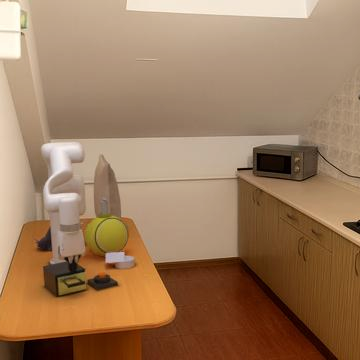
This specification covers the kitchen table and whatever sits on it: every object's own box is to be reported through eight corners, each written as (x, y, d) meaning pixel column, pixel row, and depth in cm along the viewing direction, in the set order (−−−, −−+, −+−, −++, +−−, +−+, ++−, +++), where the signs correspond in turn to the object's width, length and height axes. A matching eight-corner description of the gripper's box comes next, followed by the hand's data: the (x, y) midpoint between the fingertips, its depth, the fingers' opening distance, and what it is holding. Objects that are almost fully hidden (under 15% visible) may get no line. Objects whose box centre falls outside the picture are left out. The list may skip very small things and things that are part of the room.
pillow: (125, 240, 302) (121, 162, 295) (99, 243, 298) (94, 164, 291) (116, 222, 343) (112, 153, 336) (93, 224, 339) (89, 154, 331)
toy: (77, 253, 280) (73, 195, 275) (116, 246, 293) (114, 190, 288) (95, 265, 262) (91, 203, 256) (136, 256, 274) (134, 197, 269)
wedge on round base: (106, 269, 255) (134, 267, 257) (105, 255, 254) (134, 254, 256) (106, 263, 263) (134, 261, 266) (106, 250, 262) (134, 248, 265)
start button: (107, 277, 235) (107, 273, 235) (99, 279, 233) (99, 275, 233) (104, 275, 238) (104, 271, 238) (96, 277, 236) (96, 273, 235)
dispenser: (86, 289, 230) (85, 268, 229) (56, 296, 223) (55, 275, 221) (73, 280, 242) (72, 260, 240) (44, 286, 234) (42, 266, 233)
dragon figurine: (87, 231, 291) (38, 226, 279) (83, 253, 291) (34, 249, 280) (84, 226, 300) (36, 221, 289) (80, 248, 301) (32, 244, 290)
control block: (117, 285, 234) (117, 277, 234) (97, 290, 229) (97, 282, 228) (106, 278, 243) (106, 271, 242) (87, 283, 238) (86, 275, 237)
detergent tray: (91, 292, 225) (90, 275, 223) (63, 299, 218) (62, 281, 217) (74, 280, 239) (73, 264, 238) (47, 286, 232) (46, 269, 231)
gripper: (84, 222, 227) (87, 265, 230) (48, 228, 218) (51, 273, 221) (91, 226, 221) (94, 270, 224) (54, 232, 212) (57, 278, 215)
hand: (73, 271), depth 222 cm, fingers closed
